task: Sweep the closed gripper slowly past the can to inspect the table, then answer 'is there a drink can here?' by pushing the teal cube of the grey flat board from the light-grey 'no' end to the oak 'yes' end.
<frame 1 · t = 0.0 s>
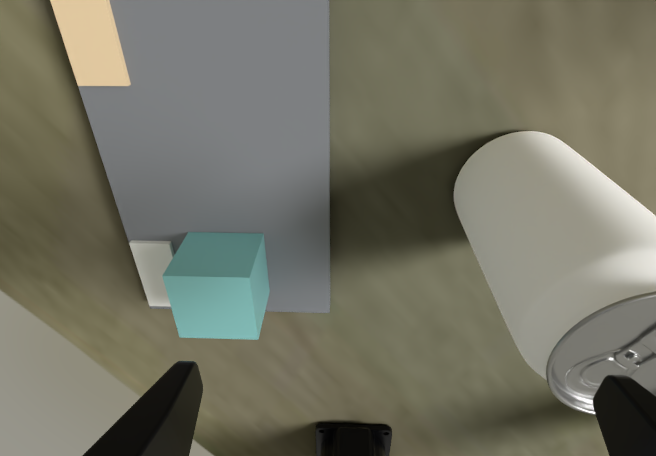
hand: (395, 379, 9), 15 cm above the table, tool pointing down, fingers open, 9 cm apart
teal cube: (222, 284, 23), point 3 cm above the table, slide at -6.0 cm
can: (510, 183, 23), on the table
grey flat board: (221, 164, 22), on the table
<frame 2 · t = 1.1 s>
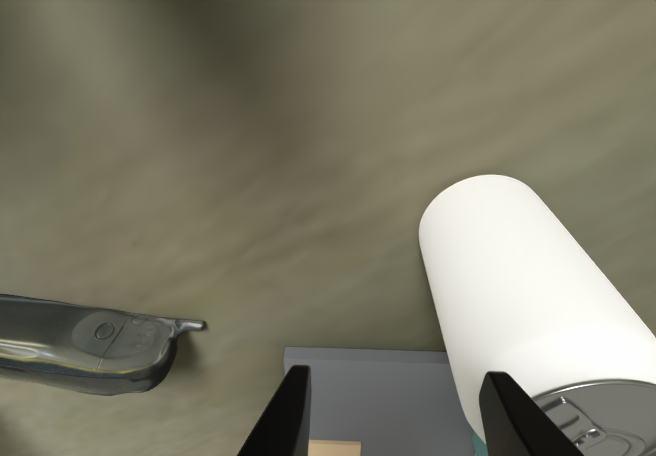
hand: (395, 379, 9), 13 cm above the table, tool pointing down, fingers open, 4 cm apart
teal cube: (517, 449, 28), point 3 cm above the table, slide at -6.0 cm
can: (476, 223, 22), on the table
grey flat board: (422, 405, 31), on the table
mobile phone: (95, 312, 27), on the table
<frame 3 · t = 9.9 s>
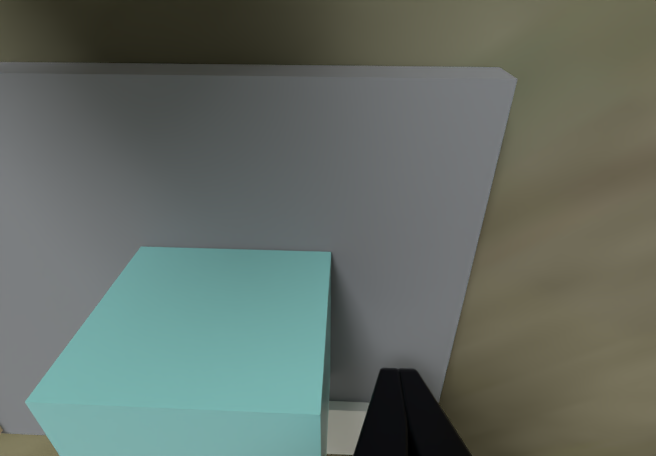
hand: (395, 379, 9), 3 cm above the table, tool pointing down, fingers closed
teal cube: (225, 385, 9), point 3 cm above the table, slide at -4.6 cm, touching gripper
grey flat board: (94, 286, 12), on the table
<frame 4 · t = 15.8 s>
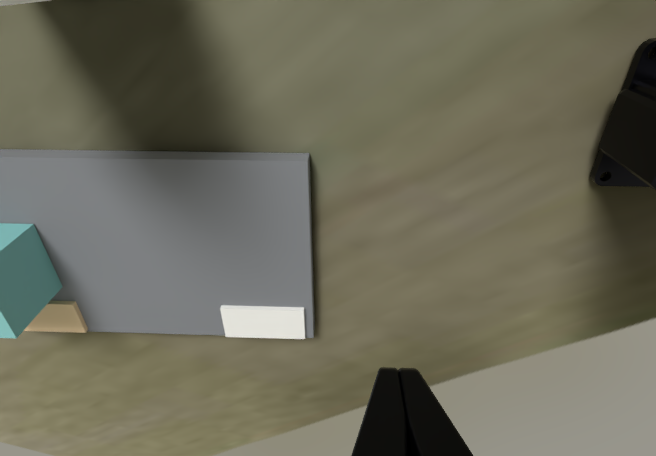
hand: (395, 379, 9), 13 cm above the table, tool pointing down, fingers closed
grey flat board: (141, 247, 24), on the table
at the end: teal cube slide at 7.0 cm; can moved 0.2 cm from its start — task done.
